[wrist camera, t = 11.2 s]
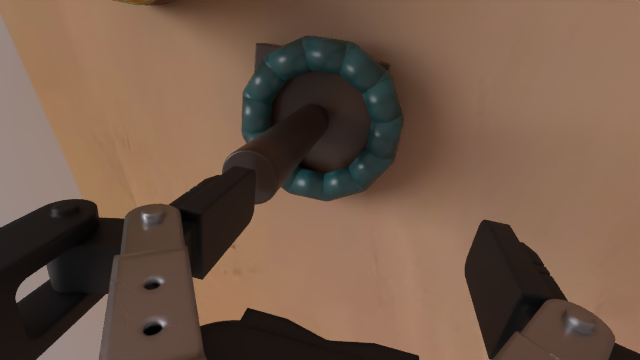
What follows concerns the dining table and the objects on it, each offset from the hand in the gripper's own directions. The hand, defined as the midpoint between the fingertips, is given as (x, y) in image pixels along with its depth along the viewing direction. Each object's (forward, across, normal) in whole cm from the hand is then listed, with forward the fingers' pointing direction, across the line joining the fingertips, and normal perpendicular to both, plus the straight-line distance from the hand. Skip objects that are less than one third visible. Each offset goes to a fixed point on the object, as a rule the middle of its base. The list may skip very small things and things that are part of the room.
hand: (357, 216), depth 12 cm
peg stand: (+13, +5, 0) cm, 14 cm away
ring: (+11, +4, 0) cm, 12 cm away
